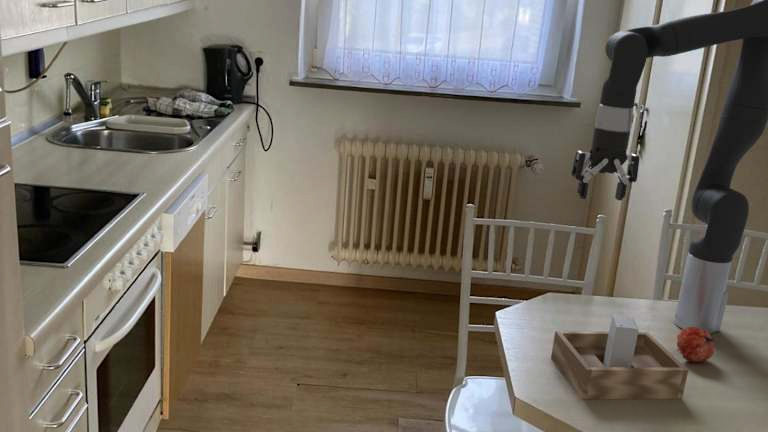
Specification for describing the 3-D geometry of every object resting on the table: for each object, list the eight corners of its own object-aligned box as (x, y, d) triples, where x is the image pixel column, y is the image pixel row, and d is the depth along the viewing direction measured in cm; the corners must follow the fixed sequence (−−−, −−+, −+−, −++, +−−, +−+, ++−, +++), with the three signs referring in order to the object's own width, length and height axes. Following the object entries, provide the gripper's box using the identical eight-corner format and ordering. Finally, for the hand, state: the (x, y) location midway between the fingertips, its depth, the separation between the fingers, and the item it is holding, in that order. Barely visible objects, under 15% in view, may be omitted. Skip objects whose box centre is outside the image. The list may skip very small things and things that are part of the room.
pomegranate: (666, 365, 164) (699, 357, 155) (661, 331, 166) (693, 321, 158) (694, 367, 166) (728, 358, 158) (689, 333, 169) (722, 323, 160)
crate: (642, 358, 161) (647, 332, 159) (682, 398, 146) (688, 370, 144) (550, 357, 158) (555, 331, 156) (581, 399, 143) (587, 369, 141)
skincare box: (628, 386, 149) (639, 329, 145) (605, 383, 149) (616, 326, 146) (623, 371, 155) (633, 316, 151) (601, 368, 155) (611, 313, 151)
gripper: (635, 125, 172) (622, 195, 177) (574, 121, 169) (563, 193, 174) (651, 131, 165) (638, 205, 169) (588, 128, 162) (576, 202, 167)
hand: (600, 198), depth 172 cm, fingers open, 8 cm apart
